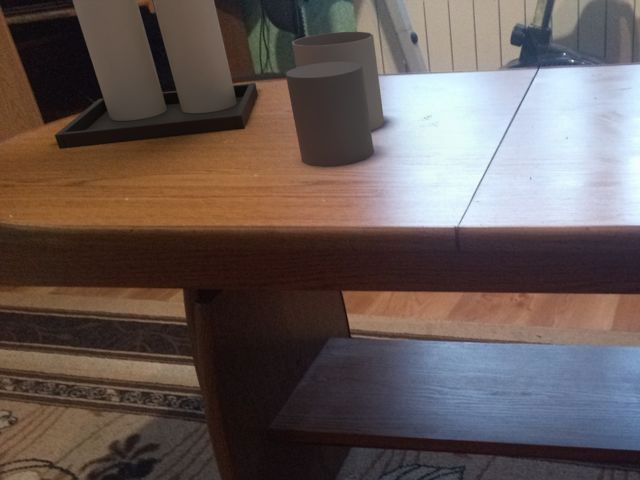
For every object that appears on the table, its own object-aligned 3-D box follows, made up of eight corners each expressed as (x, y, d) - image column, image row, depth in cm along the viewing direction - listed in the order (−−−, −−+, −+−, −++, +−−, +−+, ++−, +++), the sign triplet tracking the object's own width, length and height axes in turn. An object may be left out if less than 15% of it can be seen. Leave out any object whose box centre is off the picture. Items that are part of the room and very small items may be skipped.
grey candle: (302, 180, 69) (283, 80, 64) (304, 159, 75) (287, 66, 70) (377, 172, 69) (363, 72, 65) (373, 151, 75) (360, 58, 71)
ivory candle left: (103, 123, 92) (60, -10, 84) (117, 110, 97) (78, -15, 90) (161, 117, 92) (124, -15, 84) (171, 105, 98) (137, -20, 90)
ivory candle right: (177, 115, 92) (141, -17, 85) (186, 103, 98) (154, -21, 91) (233, 109, 93) (203, -22, 85) (239, 97, 99) (212, -26, 91)
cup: (324, 151, 77) (307, 49, 71) (299, 135, 83) (281, 40, 78) (397, 135, 80) (385, 36, 75) (367, 120, 86) (355, 29, 81)
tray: (60, 153, 83) (54, 135, 82) (103, 114, 99) (98, 98, 98) (245, 133, 85) (241, 115, 84) (258, 98, 101) (255, 82, 100)
